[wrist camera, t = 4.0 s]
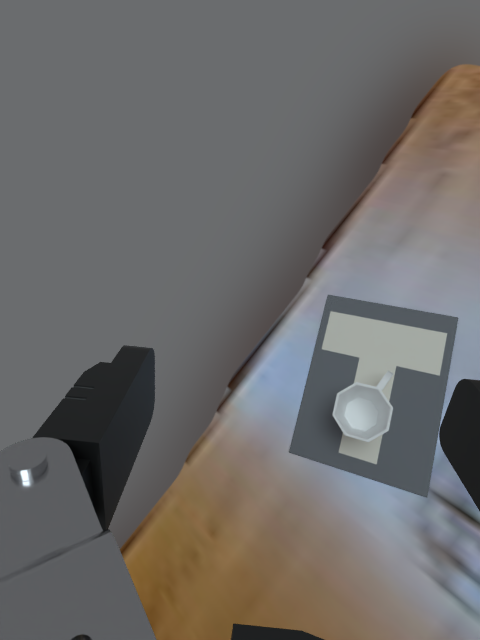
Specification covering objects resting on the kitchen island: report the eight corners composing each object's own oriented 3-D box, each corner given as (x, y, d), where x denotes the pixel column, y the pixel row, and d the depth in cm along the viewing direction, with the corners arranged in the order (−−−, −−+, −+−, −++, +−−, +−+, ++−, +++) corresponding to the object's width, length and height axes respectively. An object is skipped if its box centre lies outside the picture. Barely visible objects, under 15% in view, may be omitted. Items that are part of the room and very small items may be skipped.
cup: (325, 418, 54) (320, 416, 47) (366, 361, 55) (368, 350, 47) (368, 452, 51) (371, 455, 44) (411, 391, 52) (421, 385, 44)
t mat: (426, 497, 48) (427, 497, 48) (289, 452, 54) (289, 452, 54) (457, 318, 53) (458, 317, 53) (328, 295, 59) (327, 294, 59)
